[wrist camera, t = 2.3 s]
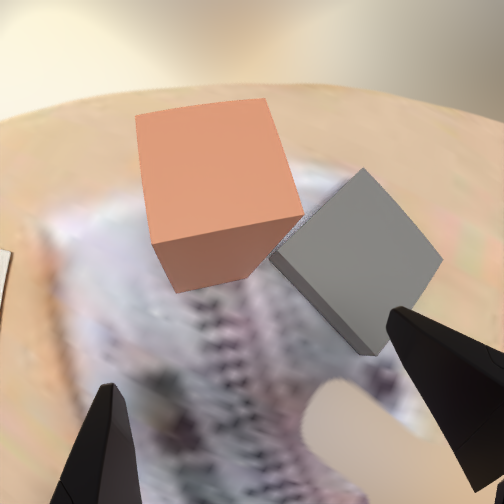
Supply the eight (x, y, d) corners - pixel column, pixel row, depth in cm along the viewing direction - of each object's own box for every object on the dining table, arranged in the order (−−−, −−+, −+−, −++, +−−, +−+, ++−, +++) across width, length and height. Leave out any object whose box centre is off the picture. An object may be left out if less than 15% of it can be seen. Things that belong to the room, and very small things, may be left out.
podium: (360, 354, 23) (376, 356, 20) (268, 259, 23) (277, 250, 21) (425, 265, 25) (443, 259, 23) (349, 180, 26) (363, 167, 24)
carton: (247, 278, 23) (304, 214, 11) (176, 293, 21) (151, 244, 10) (230, 211, 24) (265, 98, 12) (162, 224, 22) (134, 115, 11)
